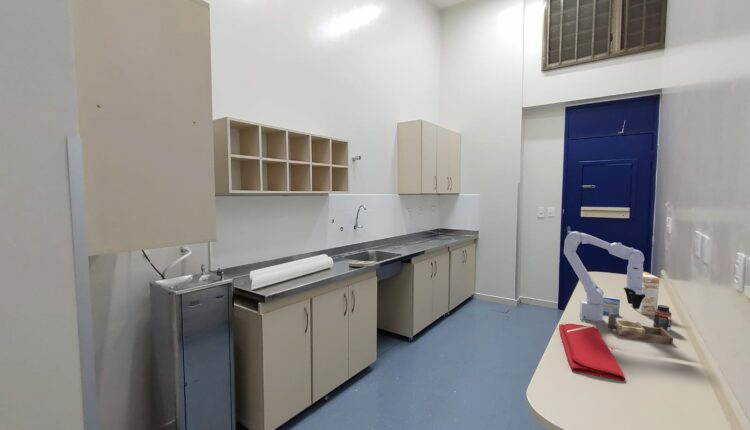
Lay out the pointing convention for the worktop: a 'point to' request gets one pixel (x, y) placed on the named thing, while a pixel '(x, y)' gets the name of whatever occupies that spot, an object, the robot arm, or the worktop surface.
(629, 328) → the drawer
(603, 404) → the worktop surface
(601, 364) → the dish drying mat
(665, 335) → the bay
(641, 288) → the robot arm
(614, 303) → the medicine box
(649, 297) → the coffeecake box
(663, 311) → the supplement bottle
